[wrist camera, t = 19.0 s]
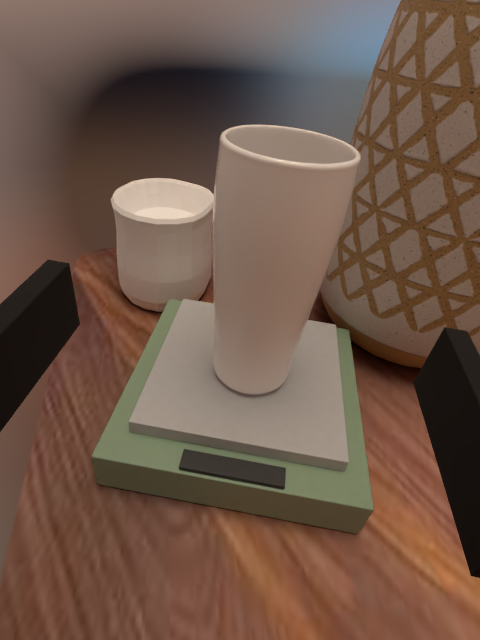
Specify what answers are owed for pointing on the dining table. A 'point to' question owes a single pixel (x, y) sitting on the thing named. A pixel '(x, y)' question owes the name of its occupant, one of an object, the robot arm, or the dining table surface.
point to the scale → (241, 428)
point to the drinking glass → (273, 244)
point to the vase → (414, 190)
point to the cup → (163, 240)
